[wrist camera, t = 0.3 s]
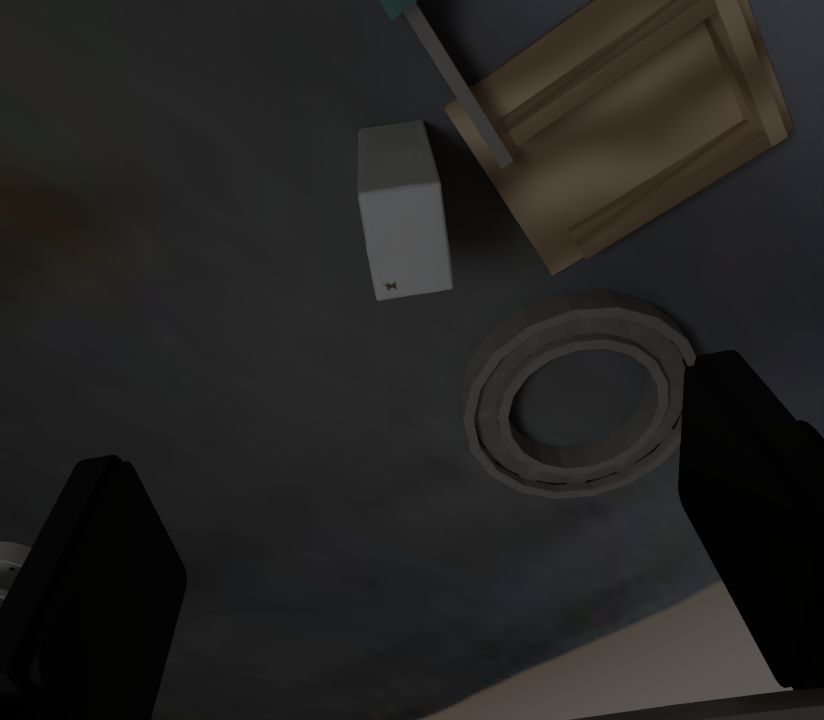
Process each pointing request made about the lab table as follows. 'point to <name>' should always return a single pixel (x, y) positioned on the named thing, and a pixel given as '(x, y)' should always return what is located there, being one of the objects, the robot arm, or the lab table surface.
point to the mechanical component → (556, 336)
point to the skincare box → (402, 211)
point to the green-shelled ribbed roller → (10, 564)
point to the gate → (450, 74)
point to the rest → (624, 117)
